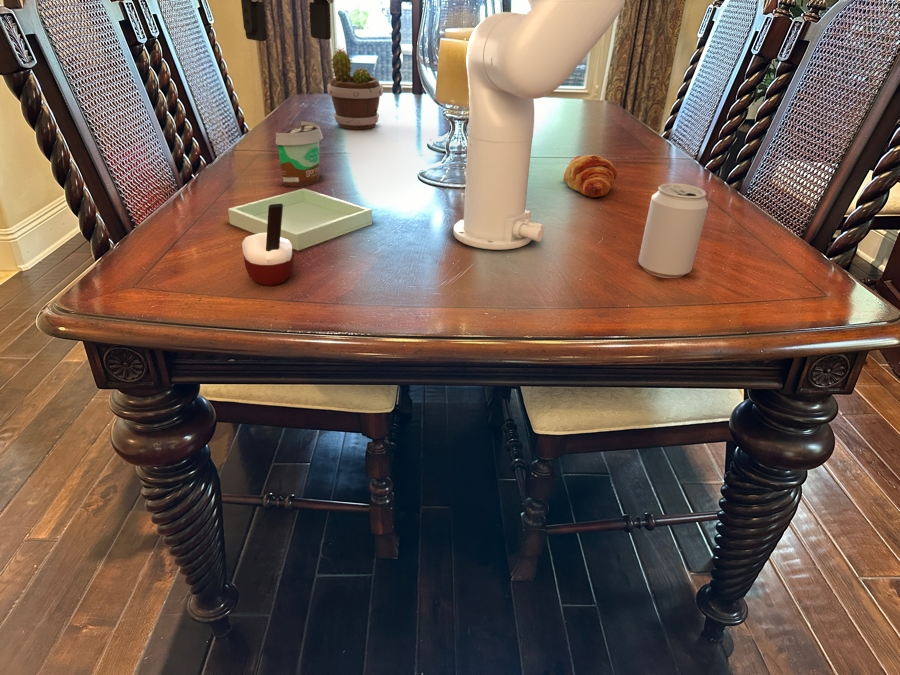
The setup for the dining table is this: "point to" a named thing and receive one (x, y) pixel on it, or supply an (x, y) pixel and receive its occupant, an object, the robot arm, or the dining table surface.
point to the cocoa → (269, 252)
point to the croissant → (590, 175)
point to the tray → (303, 217)
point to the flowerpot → (353, 94)
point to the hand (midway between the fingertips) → (290, 39)
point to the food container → (299, 154)
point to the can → (673, 230)
